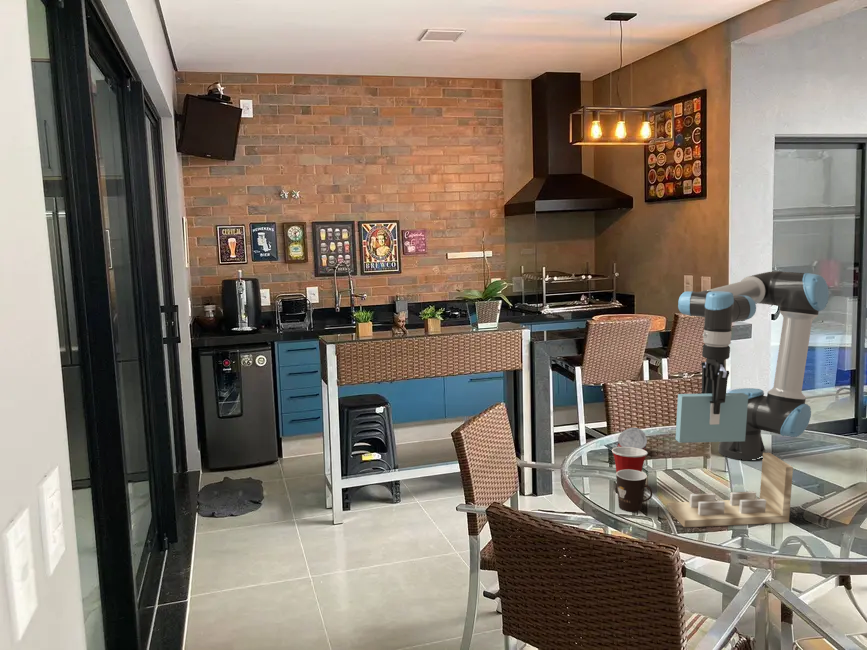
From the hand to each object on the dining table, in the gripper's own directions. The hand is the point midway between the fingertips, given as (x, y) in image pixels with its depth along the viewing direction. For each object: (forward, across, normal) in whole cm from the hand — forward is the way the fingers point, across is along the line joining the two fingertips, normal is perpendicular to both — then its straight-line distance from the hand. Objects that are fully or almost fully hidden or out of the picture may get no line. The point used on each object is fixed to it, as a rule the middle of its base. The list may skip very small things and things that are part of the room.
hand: (711, 422), depth 220 cm
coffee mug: (+24, +8, -26) cm, 36 cm away
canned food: (+23, -40, -10) cm, 47 cm away
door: (+6, 0, 0) cm, 6 cm away
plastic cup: (+24, -10, -21) cm, 33 cm away
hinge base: (+23, +14, 0) cm, 27 cm away
